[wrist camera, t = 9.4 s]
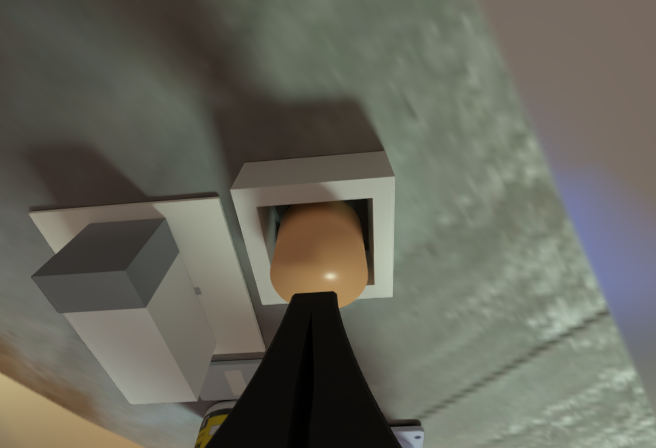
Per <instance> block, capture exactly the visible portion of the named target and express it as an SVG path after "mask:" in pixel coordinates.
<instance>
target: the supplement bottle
mask: <svg viewBox="0 0 656 448" xmlns="http://www.w3.org/2000/svg"><path fill="white" fill-rule="evenodd" d="M237 401H238V400H234V401H224V402H220V403H217V404H215V405H213V406H212V407H210V408H209V409H208V410H207V412H206V414H205V416H204V419H203V422H202V424H201V427H200V431H199V435H198V438H197V441H196V444H195V447H194V448H204V447H205V446H206V444H207V443H208V442H209V440H210V439H211V438H212V436H213V435H214V433H215V432H216V431H217V429H218V428H219V427H220V425H221V424H222V423H223V421H224V420H225V418H226V417H227V416H228V414H229V413H230V411H231V410H232V408H233V407H234V405H235V404H236V402H237Z"/></svg>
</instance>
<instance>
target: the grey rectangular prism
mask: <svg viewBox="0 0 656 448" xmlns="http://www.w3.org/2000/svg"><path fill="white" fill-rule="evenodd" d="M31 278H32V279H33V281H34V282H35V283H36V284H37V286H38V287H39V288H40V290H41V291H42V292H43V294H44V295H45V296H46V298H47V299H48V300H49V302H50V303H51V304H52V306H53V307H54V308H55V310H56V311H57V312H58V313H63V314H64V316H65V317H66V318H67V320H68V321H69V322H70V324H71V325H72V327H73V328H74V329H75V331H76V332H77V333H78V335H79V336H80V337H81V339H82V340H83V341H84V343H85V344H86V345H87V347H88V348H89V349H90V351H91V352H92V353H93V355H94V356H95V357H96V359H97V360H98V361H99V363H100V364H101V365H102V367H103V368H104V369H105V371H106V372H107V373H108V375H109V376H110V377H111V379H112V380H113V381H114V383H115V384H116V385H117V387H118V388H119V389H120V391H121V392H122V393H123V395H124V396H125V397H126V399H127V400H128V401H129V403H130V404H150V403H171V402H193V401H198V398H199V395H200V392H201V389H202V386H203V383H204V380H205V377H206V374H207V371H208V368H209V365H210V362H211V359H212V356H213V353H214V350H215V347H216V344H217V343H216V341H215V338H214V336H213V333H212V331H211V329H210V326H209V324H208V321H207V319H206V317H205V314H204V312H203V309H202V307H201V305H200V302H199V300H198V297H197V295H196V293H195V290H194V288H193V285H192V283H191V280H190V278H189V276H188V273H187V271H186V268H185V266H184V264H183V261H182V259H181V256H180V254H179V249H178V247H177V244H176V242H175V240H174V237H173V235H172V232H171V230H170V228H169V225H168V223H167V220H166V218H158V219H145V220H131V221H118V222H104V223H91V224H88V225H87V226H86V227H85V228H84V229H83V230H82V231H81V232H79V233H78V234H77V235H76V236H75V237H74V238H73V239H72V240H71V241H70V242H68V243H67V244H66V245H65V246H64V247H63V248H62V249H61V250H60V251H59V252H58V253H56V254H55V255H54V256H53V257H52V258H51V259H50V260H49V261H48V262H47V263H45V264H44V265H43V266H42V267H41V268H40V269H39V270H38V271H37V272H36V273H35V274H33V275H32V276H31Z"/></svg>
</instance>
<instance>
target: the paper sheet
mask: <svg viewBox="0 0 656 448" xmlns="http://www.w3.org/2000/svg"><path fill="white" fill-rule="evenodd" d="M28 214H29V216H30V217H31V218H32V220H33V221H34V223H35V224H36V226H37V227H38V229H39V230H40V232H41V233H42V235H43V236H44V238H45V239H46V241H47V242H48V244H49V245H50V247H51V248H52V249H53V251H54V252H55V254H56V253H58V252H59V251H60V250H61V249H62V248H63V247H64V246H65V245H66V244H67V243H68V242H70V241H71V240H72V239H73V238H74V237H75V236H76V235H77V234H78V233H79V232H81V231H82V230H83V229H84V228H85V227H86V226H87V225H88V224H91V223H104V222H118V221H131V220H145V219H158V218H166V220H167V223H168V225H169V228H170V230H171V232H172V235H173V237H174V240H175V242H176V244H177V247H178V249H179V254H180V256H181V259H182V261H183V264H184V266H185V268H186V271H187V273H188V276H189V278H190V280H191V283H192V285H193V288H194V290H195V293H196V295H197V297H198V300H199V302H200V305H201V307H202V309H203V312H204V314H205V317H206V319H207V321H208V324H209V326H210V329H211V331H212V333H213V336H214V338H215V341H216V343H217V344H216V347H215V350H214V353H213V355H215V354H233V353H251V352H265V350H266V348H265V345H264V342H263V338H262V335H261V332H260V329H259V325H258V322H257V319H256V315H255V312H254V309H253V305H252V302H251V299H250V295H249V292H248V289H247V286H246V282H245V279H244V276H243V272H242V269H241V266H240V262H239V259H238V256H237V253H236V249H235V246H234V243H233V239H232V236H231V233H230V229H229V226H228V223H227V220H226V216H225V213H224V210H223V206H222V203H221V200H220V196H218V197H205V198H193V199H180V200H168V201H155V202H143V203H130V204H118V205H105V206H93V207H80V208H68V209H55V210H43V211H31V212H30V213H28Z"/></svg>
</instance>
